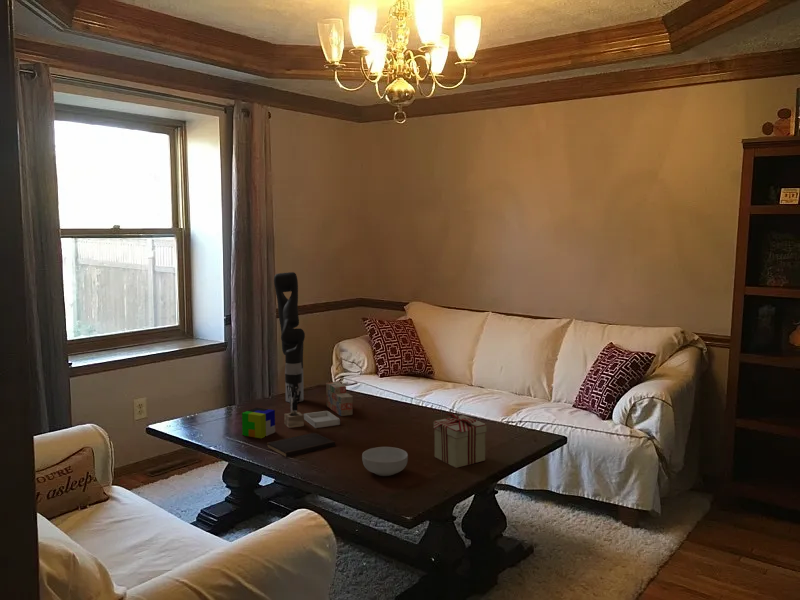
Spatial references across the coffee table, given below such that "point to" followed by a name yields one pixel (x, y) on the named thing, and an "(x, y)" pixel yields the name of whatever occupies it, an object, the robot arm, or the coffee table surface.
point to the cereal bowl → (385, 460)
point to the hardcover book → (300, 444)
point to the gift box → (459, 440)
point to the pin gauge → (293, 413)
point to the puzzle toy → (258, 422)
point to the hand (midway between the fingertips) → (293, 409)
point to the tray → (321, 419)
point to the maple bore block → (293, 420)
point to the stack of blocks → (339, 399)
